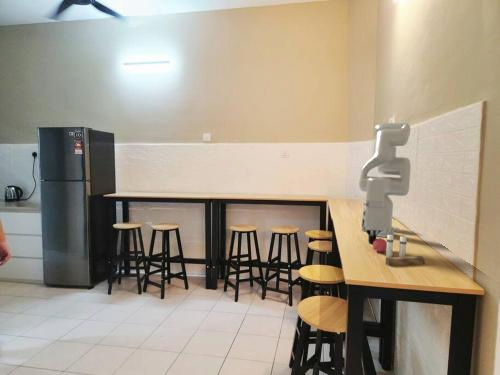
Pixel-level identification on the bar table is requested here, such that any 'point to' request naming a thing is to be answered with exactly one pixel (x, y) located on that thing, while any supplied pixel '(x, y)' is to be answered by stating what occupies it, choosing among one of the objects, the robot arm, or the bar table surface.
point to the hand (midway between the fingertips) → (372, 243)
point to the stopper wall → (405, 260)
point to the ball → (380, 245)
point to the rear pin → (402, 246)
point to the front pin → (389, 245)
